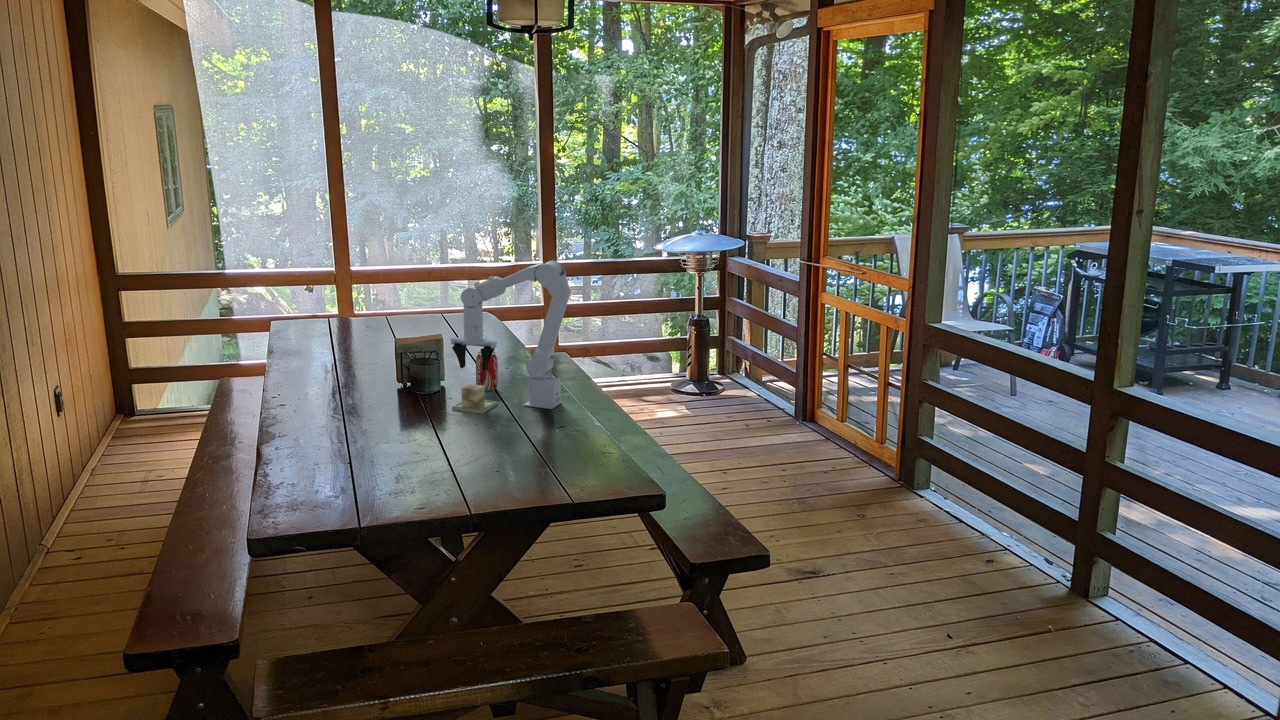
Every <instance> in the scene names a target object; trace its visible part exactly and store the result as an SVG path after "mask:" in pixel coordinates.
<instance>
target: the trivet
mask: <svg viewBox="0 0 1280 720" xmlns="http://www.w3.org/2000/svg"><path fill="white" fill-rule="evenodd" d="M496 406H498V401H495V400H490V399H489V400H488V399H485V405H484V406H482V407H481V408H479V409H475V408H467V407H462V400H461V401H459V402H457V403H456V404H454V405H452V407H451V411H457V410H459V412H465V411H466V412H467V413H475V414H482V415H483V414H485V413H486V412H488V411H489V410H491V409H493V408H495V407H496ZM460 410H461V411H460Z"/></svg>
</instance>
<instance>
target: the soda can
mask: <svg viewBox="0 0 1280 720" xmlns="http://www.w3.org/2000/svg"><path fill="white" fill-rule="evenodd" d="M498 363H499V362H498V355H496V352H495V351H493V353H492V355H491V358H490V361H489V365H488V369H487V370H485V371H483V369H482V355H481V351H478V352H477V355H476V357H475V385H479V386H484V392H489V391H494V390H495V389H497V388H498V384H499V364H498Z"/></svg>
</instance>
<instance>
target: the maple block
mask: <svg viewBox="0 0 1280 720" xmlns="http://www.w3.org/2000/svg"><path fill="white" fill-rule="evenodd" d="M460 390H461V401H462V407H467V408H475V409H479V408H481V407H482V406H484V405H485V400H486V399H485V391H484V386H479V385H476V384H472V383H471V384H467V385H465V386H463V387H461V389H460Z"/></svg>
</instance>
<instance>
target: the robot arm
mask: <svg viewBox="0 0 1280 720" xmlns="http://www.w3.org/2000/svg"><path fill="white" fill-rule="evenodd" d="M526 281H530V282H534V283H535V282H538V284H540V285H541V286H542V287H544V288H545V289H546V290H547V292H548V293H549V295H550V296H551V299H550V303H549V307H548V310H547V313H546V317H545V320H544V323H543V327H542V330H541V333H540V337H539V341H538V343H537V344H538V345H537V346H536V348H535V351H534V352H533V355H532V358H531V359H530V360H529V361H528V363H527V364H526V365H527V366H526V370H527V373H528V400H527V402H525V403H524V404H523V406H524V407H531V408H541V409H548V410H552V409H553V410H554V409H555V408H556V407H557V406H559V405H560V404H562V402H563V401H562V382H561V381H562V380H561V379H560V378H558V377H555V376H553V372H552V369H553V368H554V366H555V358H554V355H555V346H556V344H557V343H556V342H557V339H558V336H559V332H560V329H561V327H562V326H561V325H562V323H563V319H564V315H565V312H566V309H567V306H568V302H569V299H570V295H571V292H570V288H569V284H568V279H567V271H566V270H565V268H564V267H563V265H561V263H560V262H559V261H557V260H549V261H547V262H545V263H544V262H541V263H537V264H533V265H530V266H527V267H526V268H523V269H521V270H519V271H516V272H515V273H512V274H510V275H508V276H505V277H499V276H493V275H491V276H489V277H487V280H486V279H485V280H484V281H482V282H475V283H473V284H474V285H472V286H469V287H467V288H465V289H463V291H462V292H461V294H460V300H461V303H462V304H463V336H462V337H461V336H459V337H457V336H453V337H450V345H453V346H452V351H453V352H454V354H455V356H456V358H457V361H458V365H459V368H460V369H463V368H466V362H467V361H466V352H467V351H466V350H467V347H468V346H471V347H482V348H480V351H479V352H481V355H482V369H483V371H485V370H487V369H488V365H489V361H490V358H491V355H492V353H493V352H495V349H496V348H497V340H491V339H487V338H484V324H483V323H484V322H483V321H484V320H483V319H484V316H483V313H484V312H483V302H487V301H489V300H492V299H494V298H497V297H499V296H503V295H504V294H505V292H506V289H507V288H510V287H512V286H515V285H517V284H520V283H524V282H526Z"/></svg>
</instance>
